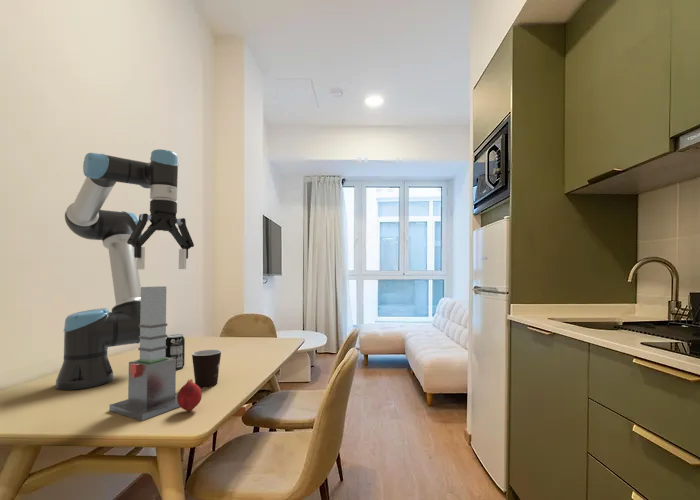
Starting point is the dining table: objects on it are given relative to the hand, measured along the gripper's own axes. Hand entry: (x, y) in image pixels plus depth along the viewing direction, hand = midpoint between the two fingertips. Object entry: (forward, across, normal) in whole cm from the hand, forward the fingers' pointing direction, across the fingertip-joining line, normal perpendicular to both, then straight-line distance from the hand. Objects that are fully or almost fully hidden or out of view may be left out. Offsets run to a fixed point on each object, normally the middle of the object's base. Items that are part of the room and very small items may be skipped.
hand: (162, 269), depth 114 cm
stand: (+36, -10, -12) cm, 39 cm away
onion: (+36, -7, -24) cm, 44 cm away
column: (+27, -10, -11) cm, 31 cm away
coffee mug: (+36, +11, -8) cm, 39 cm away
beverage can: (+37, +18, +19) cm, 45 cm away
